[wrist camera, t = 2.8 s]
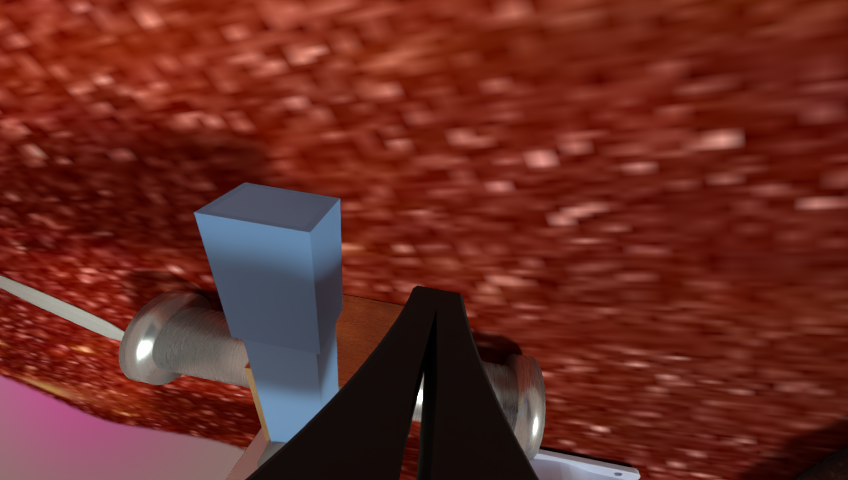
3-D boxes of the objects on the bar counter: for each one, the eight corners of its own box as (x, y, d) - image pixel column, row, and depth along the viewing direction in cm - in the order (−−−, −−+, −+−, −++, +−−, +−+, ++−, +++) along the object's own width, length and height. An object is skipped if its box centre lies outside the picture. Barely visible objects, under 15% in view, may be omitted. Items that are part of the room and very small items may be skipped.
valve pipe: (537, 330, 17) (560, 430, 12) (508, 395, 20) (518, 493, 16) (181, 264, 18) (86, 336, 13) (208, 336, 21) (137, 413, 17)
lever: (352, 447, 15) (335, 500, 13) (288, 434, 15) (263, 485, 14) (351, 200, 8) (317, 242, 6) (233, 180, 8) (169, 216, 7)
